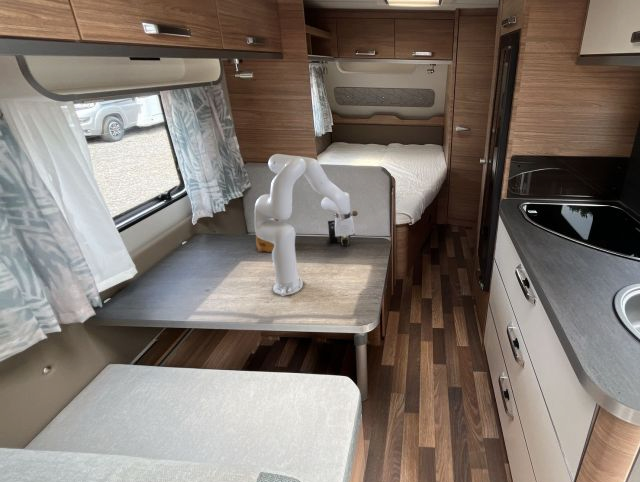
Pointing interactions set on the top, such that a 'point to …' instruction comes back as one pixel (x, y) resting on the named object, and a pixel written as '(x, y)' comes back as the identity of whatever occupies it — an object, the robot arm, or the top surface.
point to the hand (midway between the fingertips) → (345, 245)
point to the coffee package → (264, 244)
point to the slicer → (332, 233)
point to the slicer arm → (351, 215)
